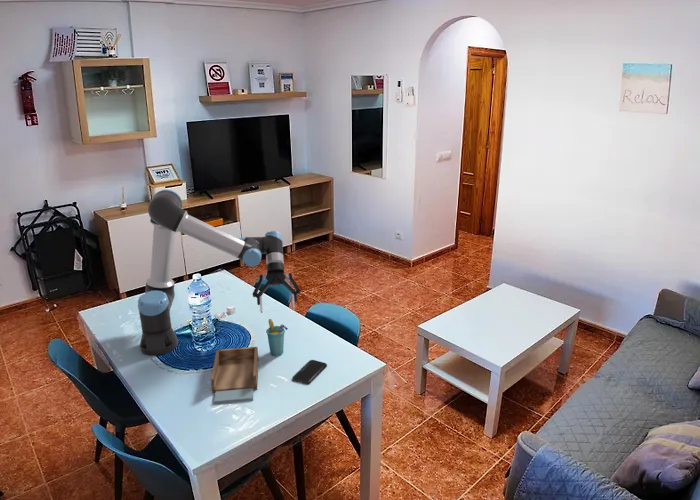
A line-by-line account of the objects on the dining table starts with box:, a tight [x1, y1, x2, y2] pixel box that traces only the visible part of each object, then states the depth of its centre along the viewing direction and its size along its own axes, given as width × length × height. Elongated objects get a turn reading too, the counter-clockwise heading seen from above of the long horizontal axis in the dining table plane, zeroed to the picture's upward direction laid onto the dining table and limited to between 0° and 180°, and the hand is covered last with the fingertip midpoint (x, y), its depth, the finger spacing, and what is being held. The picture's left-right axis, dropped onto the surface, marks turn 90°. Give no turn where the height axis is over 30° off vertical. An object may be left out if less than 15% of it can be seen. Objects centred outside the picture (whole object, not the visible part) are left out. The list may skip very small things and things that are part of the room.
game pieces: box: [213, 305, 237, 321], centre depth 244 cm, size 12×3×3 cm, turn 147°
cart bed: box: [210, 346, 259, 394], centre depth 195 cm, size 16×21×6 cm
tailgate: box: [213, 388, 255, 405], centre depth 182 cm, size 13×1×6 cm
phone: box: [291, 359, 328, 385], centre depth 197 cm, size 8×1×15 cm
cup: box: [265, 318, 289, 357], centre depth 208 cm, size 14×8×15 cm, turn 45°
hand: (277, 310), depth 214 cm, fingers open, 13 cm apart
